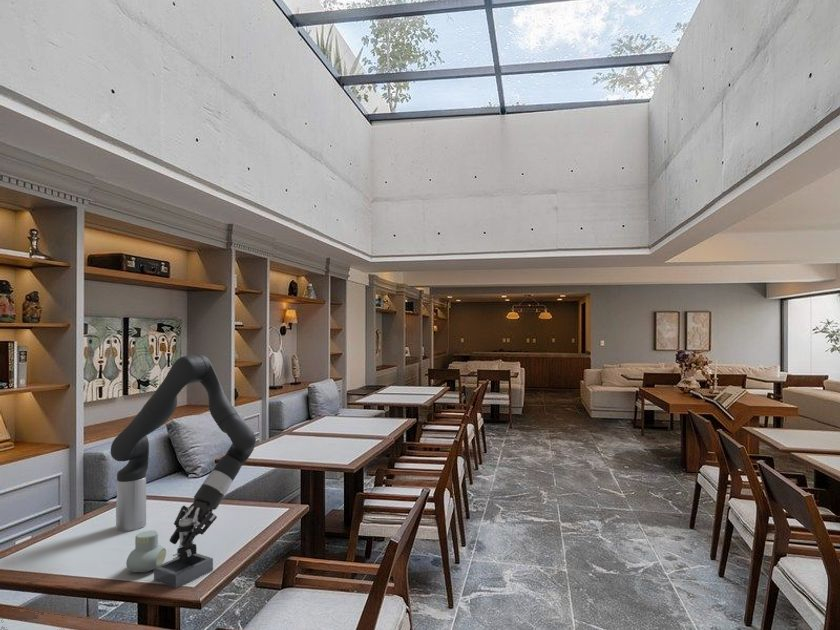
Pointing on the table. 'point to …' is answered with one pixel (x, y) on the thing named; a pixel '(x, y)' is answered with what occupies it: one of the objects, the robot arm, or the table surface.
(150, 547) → the air freshener
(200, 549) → the table surface
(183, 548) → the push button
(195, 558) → the square socket
